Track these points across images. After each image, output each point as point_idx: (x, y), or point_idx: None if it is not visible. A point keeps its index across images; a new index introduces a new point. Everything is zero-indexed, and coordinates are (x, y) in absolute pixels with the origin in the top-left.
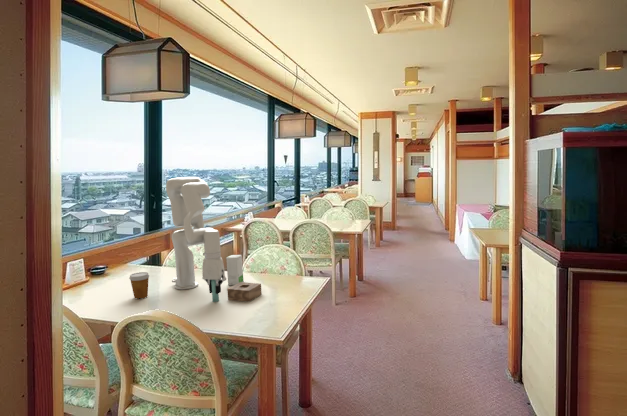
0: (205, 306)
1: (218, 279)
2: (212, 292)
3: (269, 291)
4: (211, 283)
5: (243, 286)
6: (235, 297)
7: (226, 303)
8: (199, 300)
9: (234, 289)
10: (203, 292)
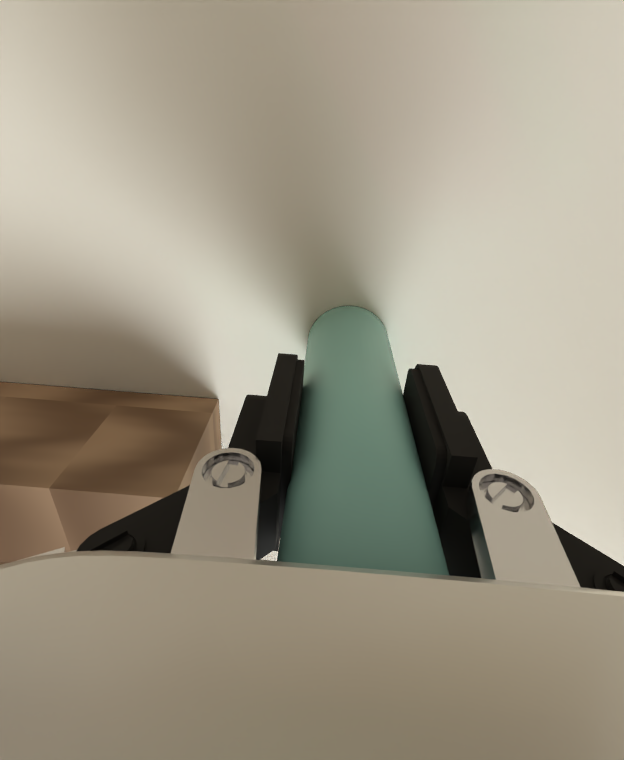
0: (380, 78)
1: (8, 565)
2: (377, 370)
3: None
4: (421, 505)
5: None
6: (96, 412)
7: (148, 281)
8: (588, 324)
9: (40, 487)
10: (620, 551)
